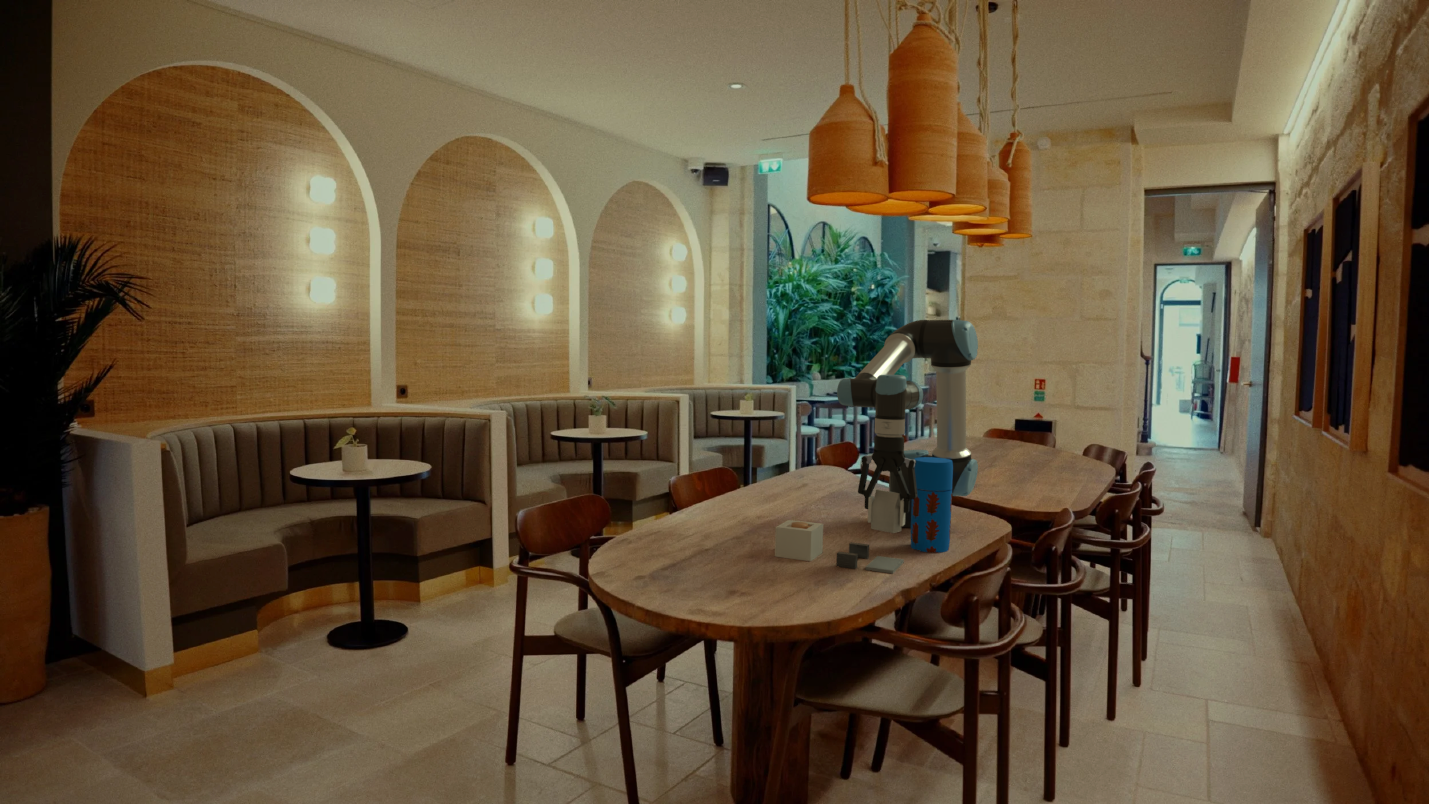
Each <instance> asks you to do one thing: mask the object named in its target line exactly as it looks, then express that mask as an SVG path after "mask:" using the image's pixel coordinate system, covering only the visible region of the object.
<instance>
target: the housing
mask: <svg viewBox="0 0 1429 804" xmlns="http://www.w3.org/2000/svg"><path fill="white" fill-rule="evenodd" d="M793 522H805V523H808V526H811V527H809V528H807V529H803V528H795V527H791V526H792V523H793ZM774 536H775V537H774V538H775V540H774V542H775V543H774V545H775V546H774V557H776V558H785V559H790V560H798V561H807V562H812V561H813V560H814V559H816V558H817V557H819V556H820V555H822V554H823V553H824V552H823V548H824V547H823V544H824V543H823V542H824V523H819V522H811V521H802V520H793V519H788V520H785V521H784V522H782V523H780V524H778V525H777V526H775V535H774Z"/></svg>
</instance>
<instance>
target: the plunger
mask: <svg viewBox="0 0 1429 804" xmlns="http://www.w3.org/2000/svg"><path fill="white" fill-rule="evenodd" d="M805 522H806V521H803V522H793V523H792V526H791V527H795V528H803V529H807V528H809V527H811V526H808V523H805Z"/></svg>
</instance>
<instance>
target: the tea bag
mask: <svg viewBox="0 0 1429 804" xmlns="http://www.w3.org/2000/svg"><path fill="white" fill-rule="evenodd" d="M870 529H872V530H875V531H881V532H885V533H891V534H896V533H900V532H902V527H901V526H900V496H899V493H895V492H889V490H888V491H887V490H883V489H882V490H881V489H875V494H874V500H873V503H872V515H871V523H870Z"/></svg>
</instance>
